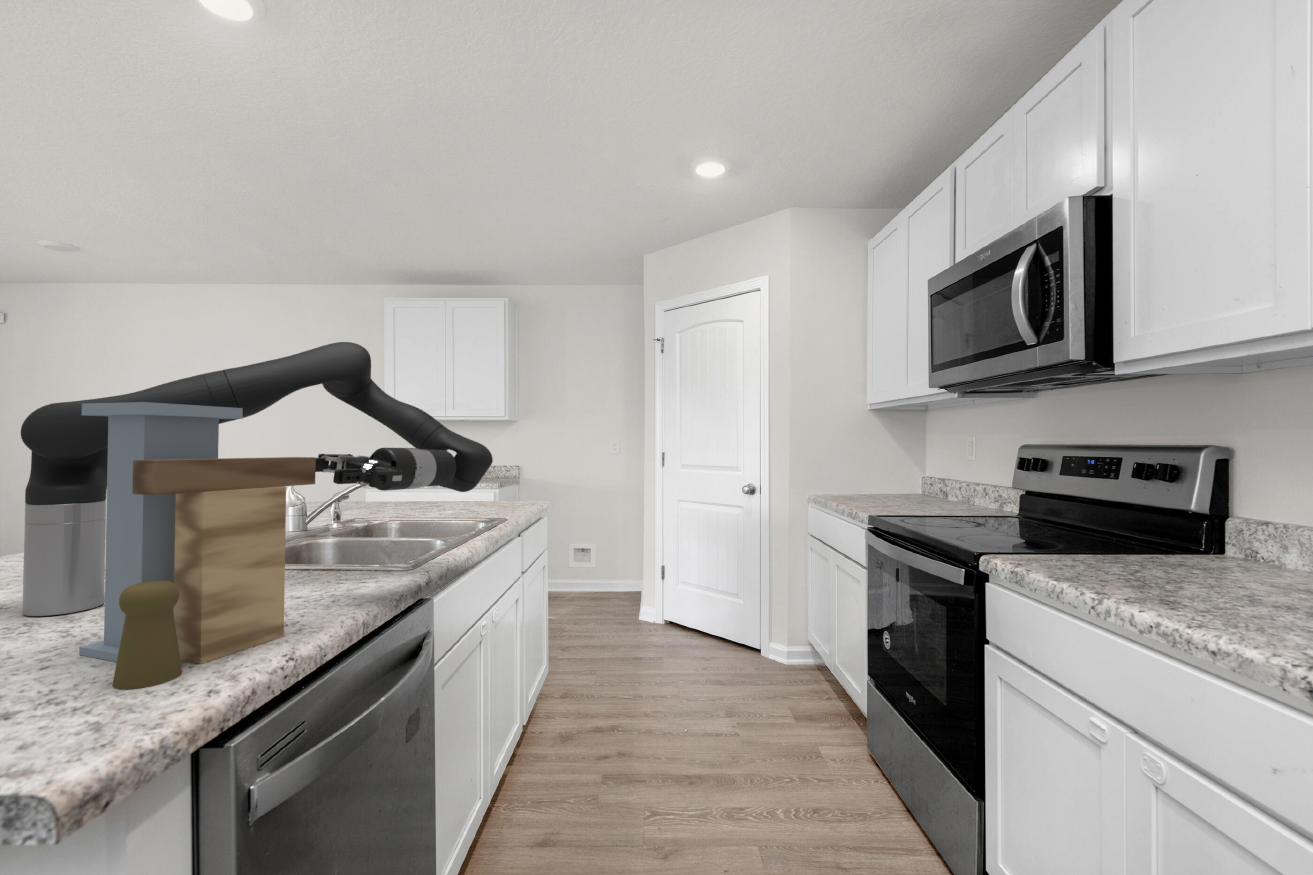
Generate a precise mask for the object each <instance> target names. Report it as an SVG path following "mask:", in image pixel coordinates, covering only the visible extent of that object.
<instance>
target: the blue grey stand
mask: <svg viewBox="0 0 1313 875" xmlns="http://www.w3.org/2000/svg"><path fill="white" fill-rule="evenodd" d="M242 414H243V408H231V407H215V406H199V405H183V404H167V403H151V402H127V403H85V404H82V415H87V416H108V464H107V491H106V535H105V582H104V618H103V619H104V620H103V621H104V622H103V623H104V624H103V626H104V627H103V628H104V629H103V640H101V641H97V642H94V643H90V644H87V645H82V646H79V648H78V650H79V651H78V655H79V656H84V657H89V658H94V659H98V658H99V660H103V659H104V661H108V660H109V662H114V663H117V658H118V653H119V648H120V642H121V637H122V632H123V626H124V621H125V616H126V614H125V613H124V612H122V611H121V609H120V606H119V598H120V595H121V593H122V592H123V591H124V589H125V588H127V587H129V586H131V585H135V584H138V583H142V582H148V581H170V582H173V583H174V561H175V506H176V494H167V495H139V494H132V488H133V460H168V459H219V439H220V438H219V435H220V434H219V430H220V429H219V428H220V424H219V419H237V420H243V418H242ZM173 614H174V607H173Z"/></svg>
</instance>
